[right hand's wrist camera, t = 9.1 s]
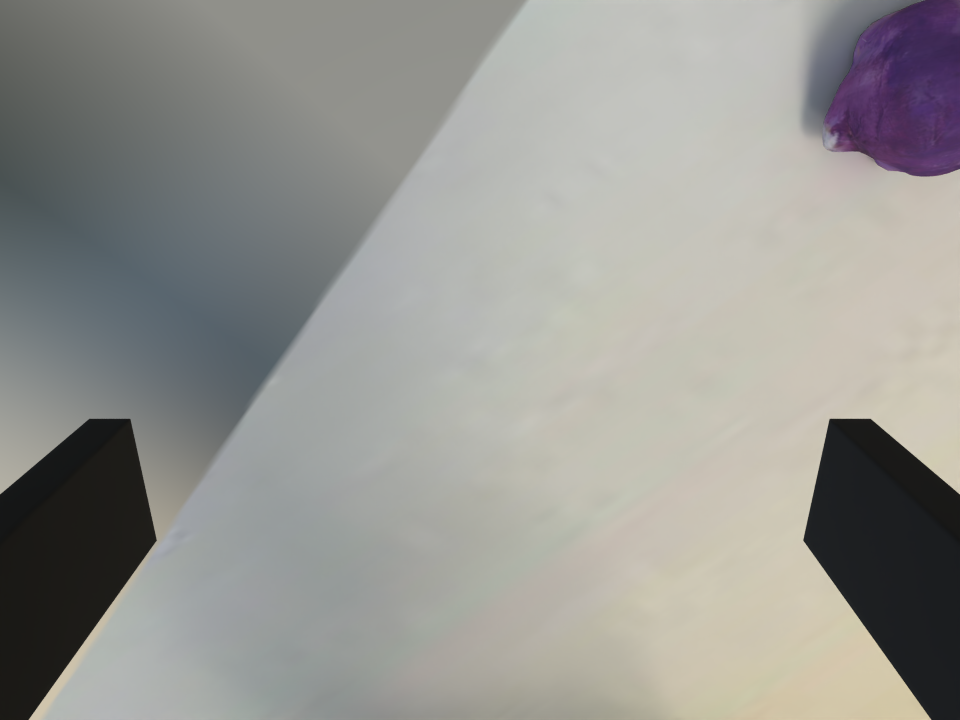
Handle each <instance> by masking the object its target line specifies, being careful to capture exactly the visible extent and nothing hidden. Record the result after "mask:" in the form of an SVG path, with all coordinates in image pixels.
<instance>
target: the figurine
mask: <svg viewBox="0 0 960 720" xmlns="http://www.w3.org/2000/svg"><path fill="white" fill-rule="evenodd" d="M822 139H823V145H824V147H825V148H826V149H827V150H829V151H832V152H849V151H858V152H861V153H864V154H866V155H868V156H870V157H872V158H873V159H874V160H875V162H876V163H877V164H878V165H879V166H881V167H882V168H884V169H886V170H888V171H900V172H906V173H908V174H910V175H913V176H938V175H943V174H947V173H950V172H953V171H955V170H958V169H960V0H924V1H921V2H919V3H916V4H913V5H910V6H908V7H906V8H904V9H902V10H899V11H896V12H894V13H892V14H889V15H887V16H885V17H883V18H881V19H879V20H877V21H876V22H874V23H872V24H871V25H870V26H869V27H868V28H867V29H866V30H865V31H864V32H863V33H862V34H861V35H860V38H859V40H858V42H857V45H856V48H855V51H854V57H853V64H852V66H851V69H850V71H849V73H848V74H847V76H846V77H845V78H844V80H843V82H842V83H841V85H840V86H839V88H838V91H837V93H836V95H835V97H834V100H833V102H832V104H831V106H830V108H829V110H828V113H827V115H826V117H825V120H824V124H823V135H822Z"/></svg>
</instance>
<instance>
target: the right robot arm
mask: <svg viewBox="0 0 960 720" xmlns="http://www.w3.org/2000/svg"><path fill="white" fill-rule="evenodd" d="M156 541H157V540H156V535H155V530H154V526H153V521H152V517H151V512H150V508H149V503H148V498H147V494H146V489H145V484H144V480H143V475H142V471H141V466H140V461H139V457H138V452H137V448H136V443H135V438H134V434H133V429H132V425H131V420H130V419H89V420H88V421H86V422H85V423H84V424H83V425H82V426H81V427H79V428H78V429H77V430H76V431H75V432H73V433H72V434H71V435H70V436H69V437H68V438H66V439H65V440H64V441H63V442H62V443H60V444H59V445H58V446H57V447H56V448H55V449H53V450H52V451H51V452H50V453H49V454H47V455H46V456H45V457H44V458H43V459H42V460H40V461H39V462H38V463H37V464H36V465H35V466H33V467H32V468H31V469H30V470H29V471H27V472H26V473H25V474H24V475H23V476H22V477H20V478H19V479H18V480H17V481H16V482H14V483H13V484H12V485H11V486H10V487H9V488H7V489H6V490H5V491H4V492H3V493H1V494H0V720H29V718H30V717H31V716H32V714H33V713H34V711H35V710H36V709H37V707H38V706H39V704H40V703H41V702H42V700H43V699H44V697H45V696H46V695H47V693H48V692H49V690H50V689H51V688H52V686H53V685H54V683H55V682H56V681H57V679H58V678H59V676H60V675H61V674H62V672H63V671H64V669H65V668H66V667H67V665H68V664H69V662H70V661H71V660H72V658H73V657H74V655H75V654H76V653H77V651H78V650H79V648H80V647H81V646H82V644H83V643H84V641H85V640H86V639H87V637H88V636H89V634H90V633H91V632H92V630H93V629H94V627H95V626H96V625H97V623H98V622H99V620H100V619H101V618H102V616H103V615H104V613H105V612H106V611H107V609H108V608H109V606H110V605H111V604H112V602H113V601H114V599H115V598H116V597H117V595H118V594H119V592H120V591H121V590H122V588H123V587H124V585H125V584H126V583H127V581H128V580H129V578H130V577H131V576H132V574H133V573H134V571H135V570H136V569H137V567H138V566H139V564H140V563H141V562H142V560H143V559H144V557H145V556H146V555H147V553H148V552H149V550H150V549H151V548H152V546H153V545H154V543H155V542H156ZM803 541H804V542H805V543H806V545H807V546H808V548H809V549H810V550H811V552H812V553H813V555H814V556H815V557H816V559H817V560H818V562H819V563H820V564H821V566H822V567H823V569H824V570H825V571H826V573H827V574H828V576H829V577H830V578H831V580H832V581H833V583H834V584H835V585H836V587H837V588H838V590H839V591H840V592H841V594H842V595H843V597H844V598H845V599H846V601H847V602H848V604H849V605H850V606H851V608H852V609H853V611H854V612H855V613H856V615H857V616H858V618H859V619H860V620H861V622H862V623H863V625H864V626H865V627H866V629H867V630H868V632H869V633H870V634H871V636H872V637H873V639H874V640H875V641H876V643H877V644H878V646H879V647H880V648H881V650H882V651H883V653H884V654H885V655H886V657H887V658H888V660H889V661H890V662H891V664H892V665H893V667H894V668H895V669H896V671H897V672H898V674H899V675H900V676H901V678H902V679H903V681H904V682H905V683H906V685H907V686H908V688H909V689H910V690H911V692H912V693H913V695H914V696H915V697H916V699H917V700H918V702H919V703H920V704H921V706H922V707H923V709H924V710H925V711H926V713H927V714H928V716H929V717H930V718H931V720H960V494H959V493H957V492H956V491H955V490H954V489H953V488H951V487H950V486H949V485H948V484H947V483H946V482H944V481H943V480H942V479H941V478H940V477H938V476H937V475H936V474H935V473H934V472H933V471H931V470H930V469H929V468H928V467H927V466H926V465H924V464H923V463H922V462H921V461H920V460H918V459H917V458H916V457H915V456H914V455H913V454H911V453H910V452H909V451H908V450H907V449H905V448H904V447H903V446H902V445H901V444H900V443H898V442H897V441H896V440H895V439H894V438H892V437H891V436H890V435H889V434H888V433H887V432H885V431H884V430H883V429H882V428H881V427H880V426H878V425H877V424H876V423H875V422H874V421H872V420H871V419H830V420H829V425H828V429H827V434H826V438H825V443H824V448H823V452H822V457H821V461H820V466H819V471H818V475H817V480H816V484H815V489H814V494H813V498H812V503H811V507H810V512H809V517H808V521H807V526H806V530H805V535H804V540H803Z"/></svg>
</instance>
